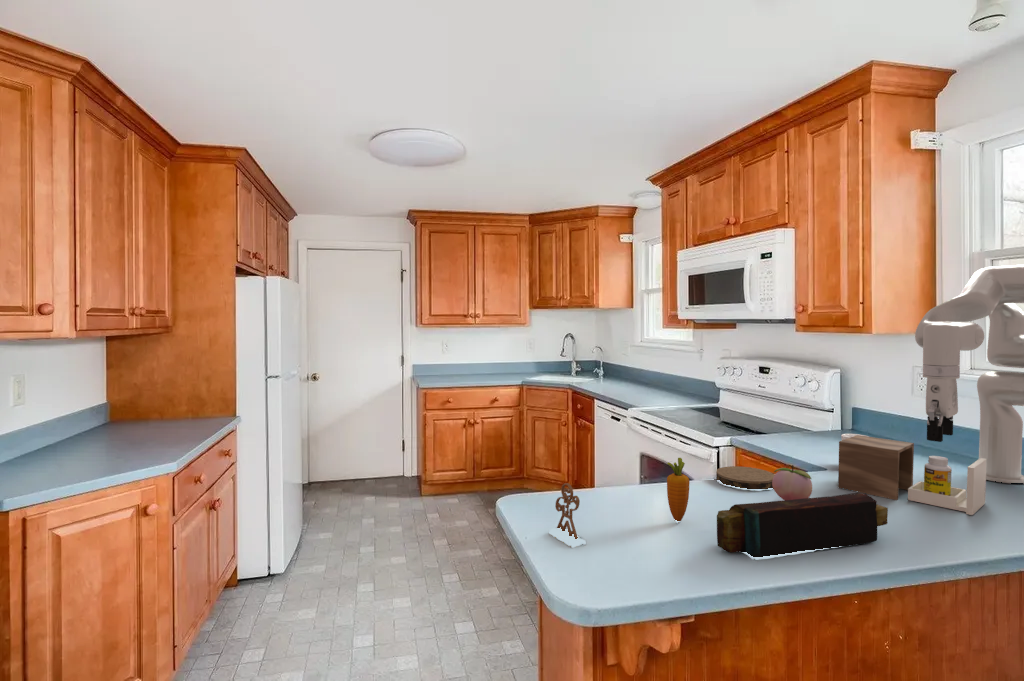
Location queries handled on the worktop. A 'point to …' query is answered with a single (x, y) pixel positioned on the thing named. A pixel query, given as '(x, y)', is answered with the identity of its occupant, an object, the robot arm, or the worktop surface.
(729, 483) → the brown round disc
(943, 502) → the drawer
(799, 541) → the packaged item
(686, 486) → the carrot
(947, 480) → the supplement bottle
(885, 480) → the cabinet
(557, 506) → the gingerbread man figurine
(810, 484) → the decorative fruit
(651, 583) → the worktop surface
